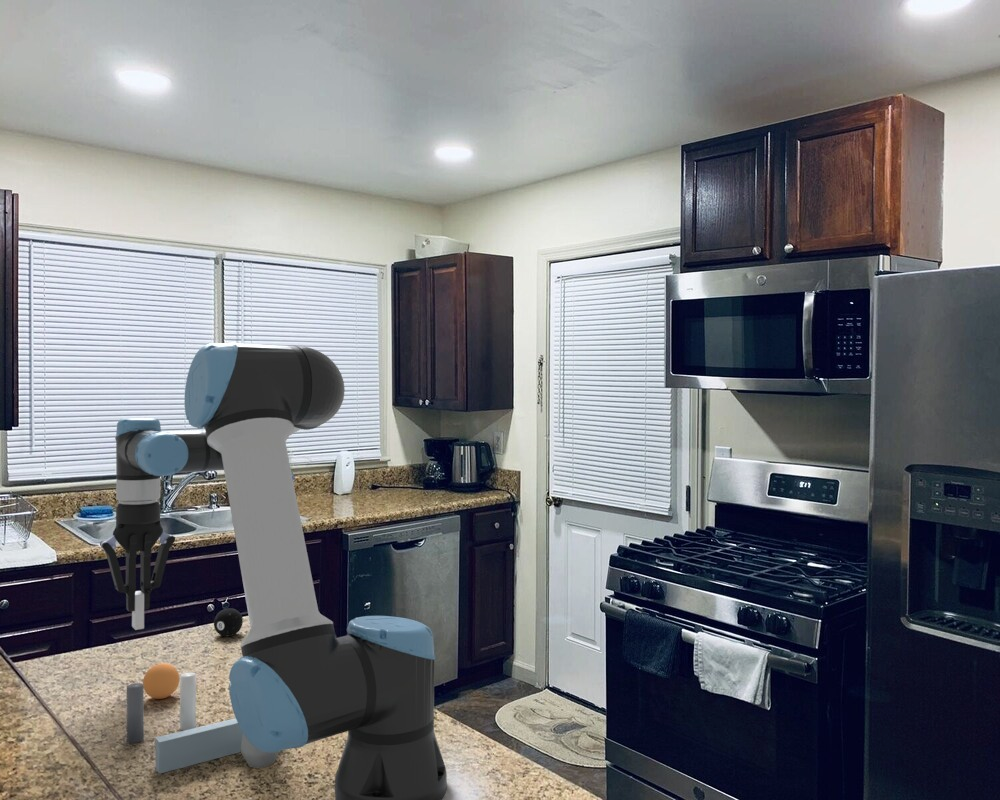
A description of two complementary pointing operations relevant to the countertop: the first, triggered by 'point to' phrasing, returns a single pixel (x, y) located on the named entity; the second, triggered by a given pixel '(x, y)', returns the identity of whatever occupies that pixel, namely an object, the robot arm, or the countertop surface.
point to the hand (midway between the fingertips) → (138, 627)
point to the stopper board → (197, 745)
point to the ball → (161, 681)
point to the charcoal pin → (135, 713)
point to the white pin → (187, 701)
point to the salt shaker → (256, 755)
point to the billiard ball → (228, 622)
